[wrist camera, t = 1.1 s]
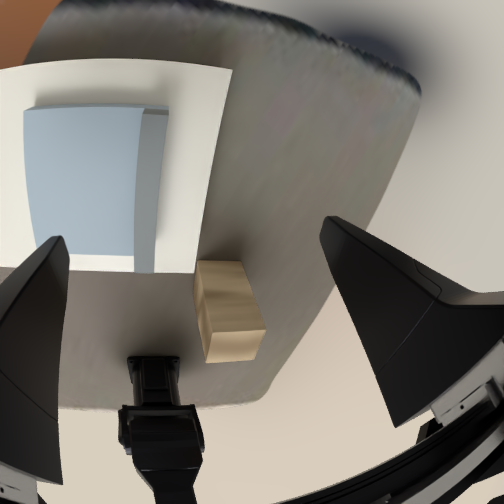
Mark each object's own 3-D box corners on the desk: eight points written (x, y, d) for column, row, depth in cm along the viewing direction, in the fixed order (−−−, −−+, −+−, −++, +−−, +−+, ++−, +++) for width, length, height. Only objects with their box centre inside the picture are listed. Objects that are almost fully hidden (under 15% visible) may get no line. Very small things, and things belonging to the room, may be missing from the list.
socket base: (188, 241, 24) (193, 273, 21) (-33, 235, 17) (-52, 263, 14) (220, 67, 16) (232, 69, 13) (-51, 83, 9) (-81, 94, 6)
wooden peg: (232, 292, 29) (253, 359, 23) (192, 293, 28) (206, 363, 22) (240, 261, 27) (266, 329, 21) (197, 260, 26) (212, 332, 20)
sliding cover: (153, 245, 19) (154, 273, 17) (42, 242, 16) (30, 269, 14) (168, 106, 14) (168, 115, 12) (32, 106, 11) (10, 117, 9)
